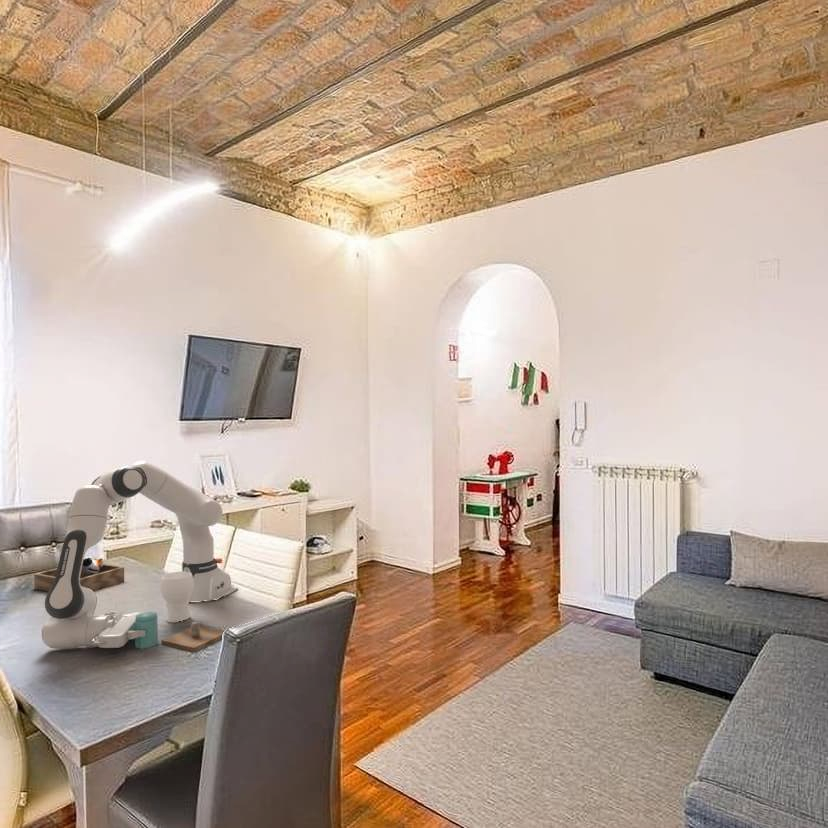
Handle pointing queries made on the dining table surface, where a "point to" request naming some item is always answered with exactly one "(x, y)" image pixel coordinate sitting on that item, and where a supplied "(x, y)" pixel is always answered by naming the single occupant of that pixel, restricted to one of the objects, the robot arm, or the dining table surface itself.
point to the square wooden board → (193, 637)
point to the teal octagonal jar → (147, 629)
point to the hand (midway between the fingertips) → (149, 627)
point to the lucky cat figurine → (90, 566)
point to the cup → (177, 595)
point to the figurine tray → (94, 582)
